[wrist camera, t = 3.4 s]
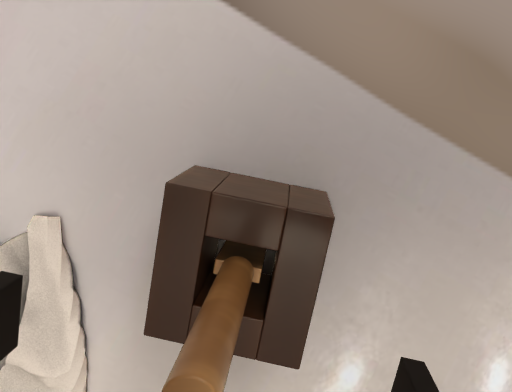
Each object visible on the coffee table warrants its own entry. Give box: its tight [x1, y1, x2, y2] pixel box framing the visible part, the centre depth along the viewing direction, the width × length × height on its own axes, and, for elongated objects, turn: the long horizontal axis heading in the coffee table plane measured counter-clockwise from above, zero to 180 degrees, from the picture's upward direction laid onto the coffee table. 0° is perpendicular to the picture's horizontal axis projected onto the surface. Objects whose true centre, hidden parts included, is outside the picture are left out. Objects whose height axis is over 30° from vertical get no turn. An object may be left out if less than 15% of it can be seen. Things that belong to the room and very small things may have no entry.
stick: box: [162, 240, 267, 392], centre depth 20 cm, size 2×2×15 cm
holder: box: [144, 165, 335, 369], centre depth 24 cm, size 8×8×6 cm
